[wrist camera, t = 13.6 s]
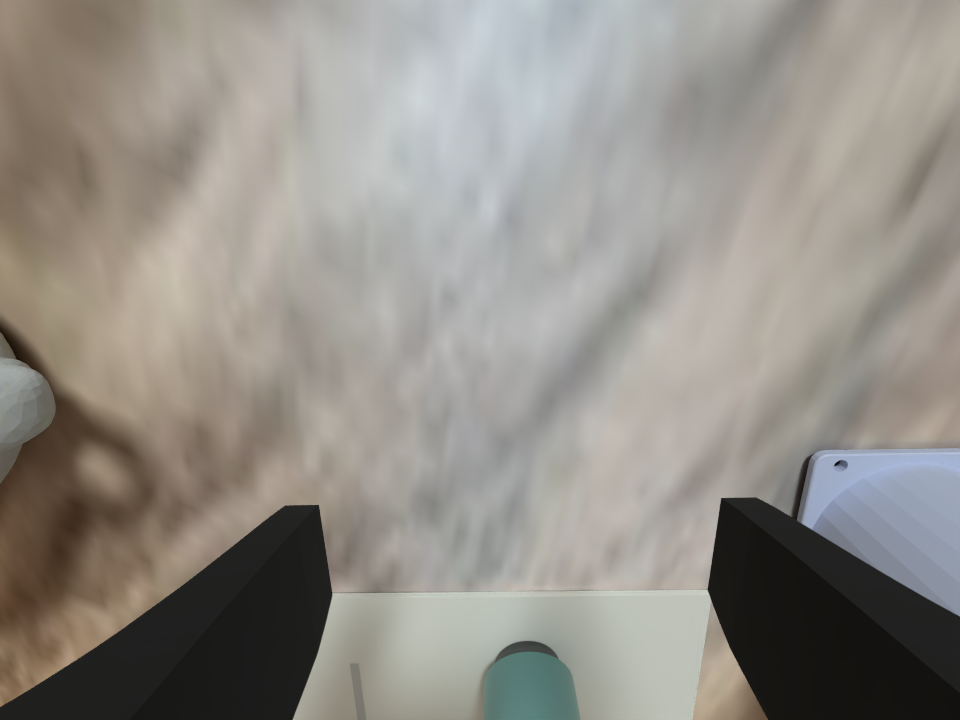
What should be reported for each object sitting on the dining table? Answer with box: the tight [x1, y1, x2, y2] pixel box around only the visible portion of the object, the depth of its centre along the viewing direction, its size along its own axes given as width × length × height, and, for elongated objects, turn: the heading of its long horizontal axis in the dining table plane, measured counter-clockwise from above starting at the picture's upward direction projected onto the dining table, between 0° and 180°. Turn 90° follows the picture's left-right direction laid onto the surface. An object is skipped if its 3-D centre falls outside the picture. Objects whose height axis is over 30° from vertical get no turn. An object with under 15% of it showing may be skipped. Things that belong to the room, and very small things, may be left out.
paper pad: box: [293, 590, 711, 720], centre depth 25 cm, size 20×14×1 cm
